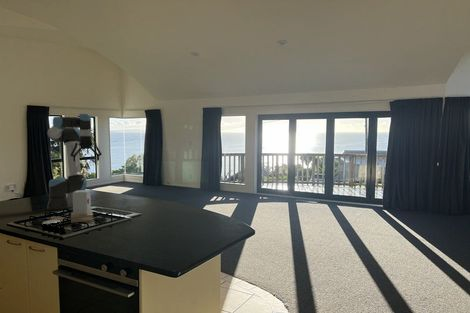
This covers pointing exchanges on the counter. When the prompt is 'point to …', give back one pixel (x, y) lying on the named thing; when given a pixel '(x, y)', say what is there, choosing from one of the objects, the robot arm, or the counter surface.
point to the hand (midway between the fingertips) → (86, 165)
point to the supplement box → (81, 202)
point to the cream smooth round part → (51, 221)
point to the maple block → (82, 218)
